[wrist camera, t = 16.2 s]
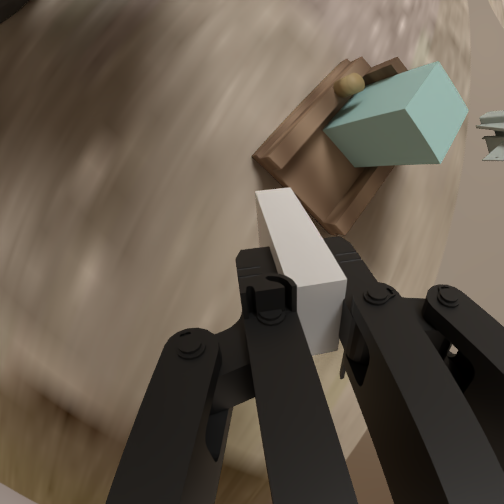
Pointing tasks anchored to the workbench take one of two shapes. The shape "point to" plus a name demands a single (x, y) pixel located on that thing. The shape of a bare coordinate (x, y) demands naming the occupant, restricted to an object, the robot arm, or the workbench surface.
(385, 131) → the mint green box
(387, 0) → the workbench surface
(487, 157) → the bracket
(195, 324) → the workbench surface
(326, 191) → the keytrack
